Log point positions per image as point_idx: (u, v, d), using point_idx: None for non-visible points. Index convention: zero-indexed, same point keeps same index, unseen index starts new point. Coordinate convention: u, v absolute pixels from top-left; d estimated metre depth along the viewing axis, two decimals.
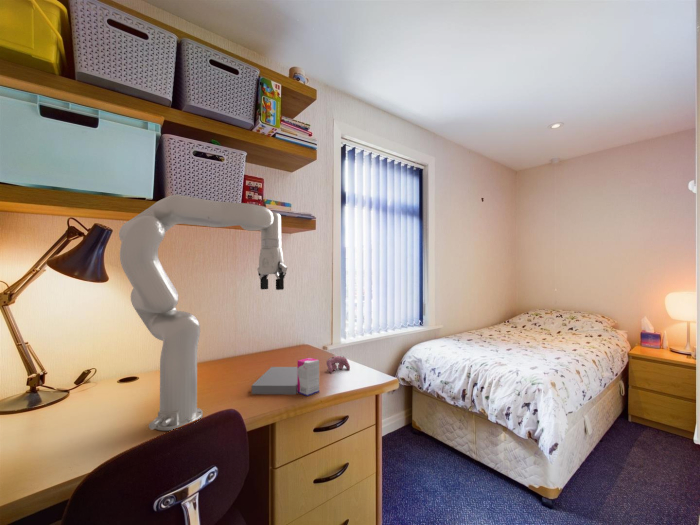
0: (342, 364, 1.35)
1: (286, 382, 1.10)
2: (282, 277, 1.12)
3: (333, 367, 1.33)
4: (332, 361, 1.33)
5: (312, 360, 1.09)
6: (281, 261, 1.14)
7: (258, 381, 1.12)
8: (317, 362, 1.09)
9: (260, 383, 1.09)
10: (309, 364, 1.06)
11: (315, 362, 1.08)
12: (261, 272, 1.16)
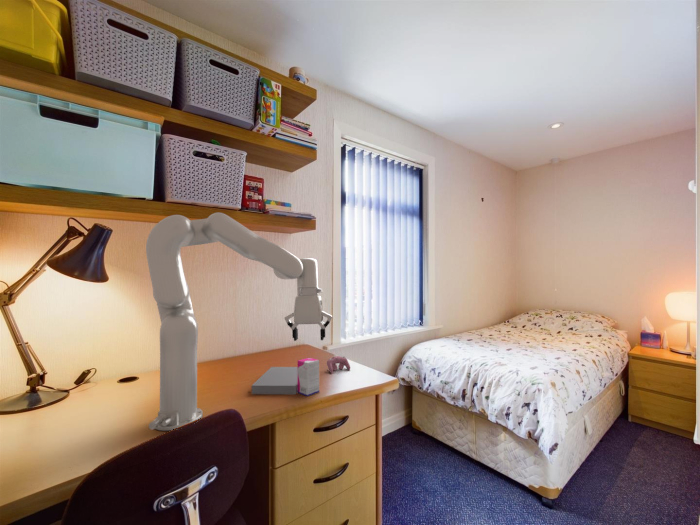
0: (342, 364, 1.35)
1: (286, 382, 1.10)
2: None
3: (333, 367, 1.33)
4: (332, 361, 1.32)
5: (312, 360, 1.09)
6: (294, 311, 1.09)
7: (258, 381, 1.12)
8: (317, 362, 1.09)
9: (260, 383, 1.09)
10: (309, 364, 1.06)
11: (315, 362, 1.08)
12: None
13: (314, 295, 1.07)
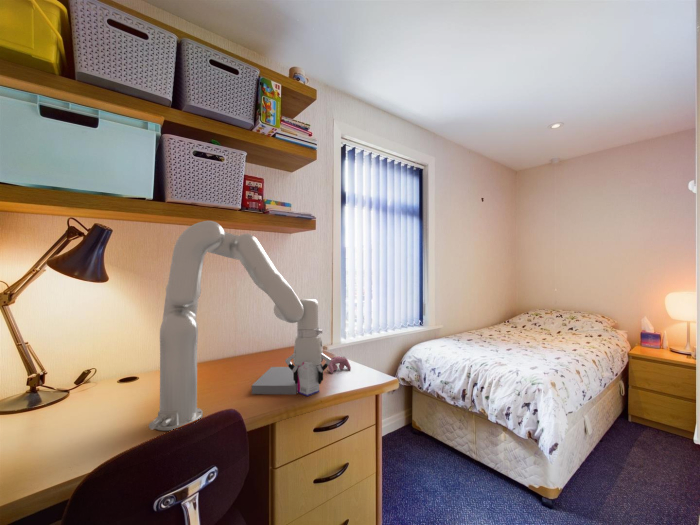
0: (343, 364, 1.35)
1: (286, 382, 1.10)
2: None
3: (334, 367, 1.32)
4: (333, 361, 1.32)
5: None
6: None
7: (258, 381, 1.12)
8: None
9: (260, 383, 1.09)
10: (309, 364, 1.06)
11: None
12: None
13: (314, 337, 1.07)
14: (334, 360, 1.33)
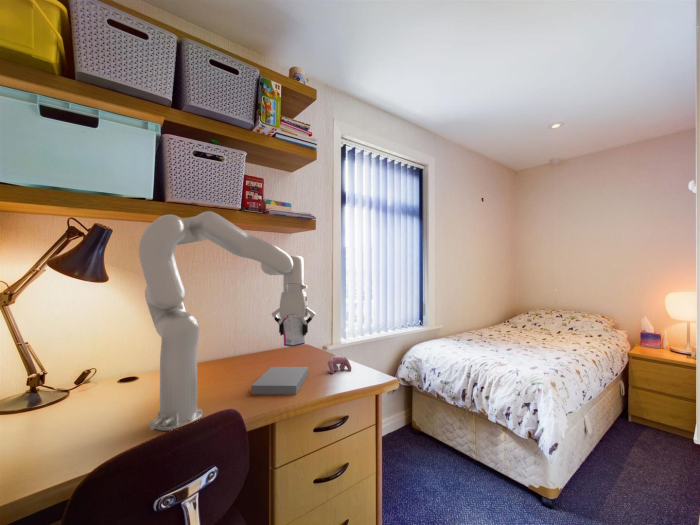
0: (343, 365, 1.34)
1: (286, 382, 1.10)
2: None
3: (334, 368, 1.32)
4: (333, 362, 1.32)
5: None
6: (280, 305, 1.14)
7: (258, 381, 1.12)
8: None
9: (260, 383, 1.09)
10: (293, 316, 1.11)
11: None
12: None
13: (299, 291, 1.12)
14: (335, 360, 1.32)
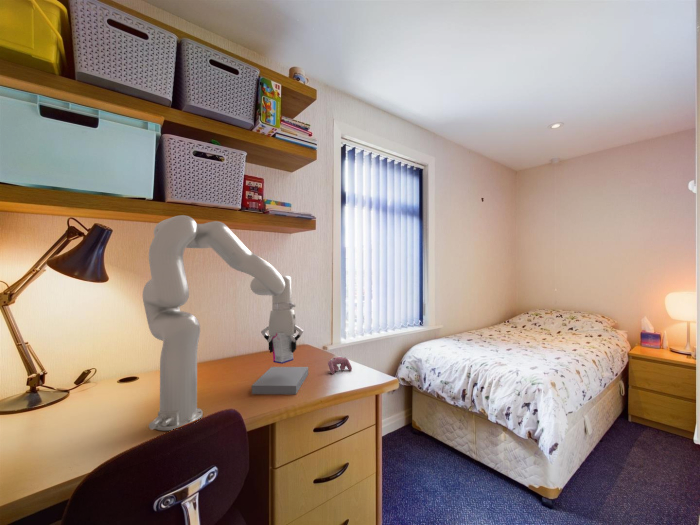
0: (344, 365, 1.34)
1: (286, 382, 1.10)
2: None
3: (335, 368, 1.32)
4: (334, 362, 1.31)
5: None
6: (269, 324, 1.19)
7: (258, 381, 1.12)
8: None
9: (260, 383, 1.09)
10: (282, 334, 1.16)
11: None
12: None
13: (287, 310, 1.17)
14: (335, 361, 1.32)
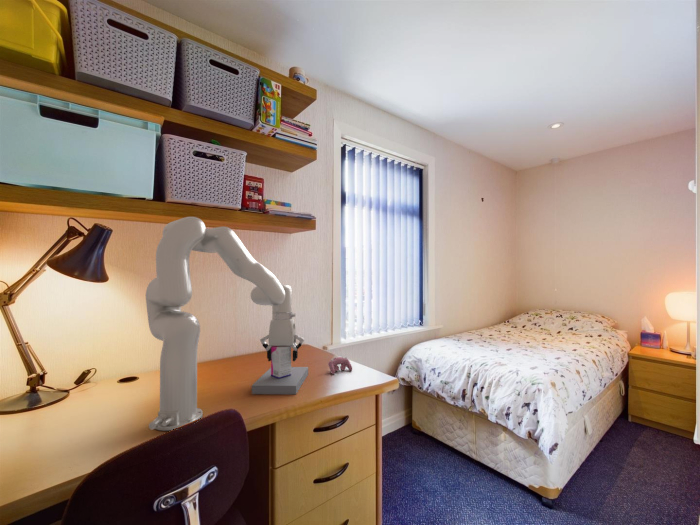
0: (344, 365, 1.33)
1: (286, 382, 1.10)
2: None
3: (335, 368, 1.31)
4: (334, 362, 1.31)
5: (284, 346, 1.18)
6: (269, 333, 1.18)
7: (258, 381, 1.12)
8: (289, 348, 1.18)
9: (260, 383, 1.09)
10: (281, 349, 1.15)
11: (287, 348, 1.17)
12: None
13: (287, 319, 1.17)
14: (335, 361, 1.31)
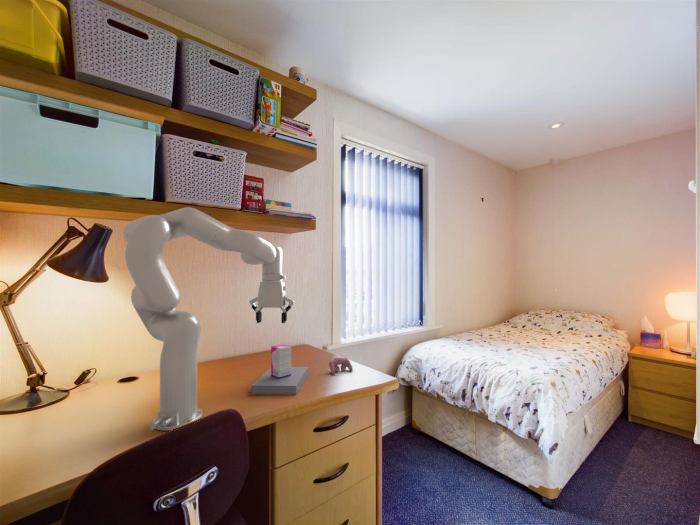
0: (345, 365, 1.33)
1: (286, 382, 1.10)
2: None
3: (335, 369, 1.31)
4: (334, 362, 1.30)
5: (284, 346, 1.18)
6: None
7: (258, 381, 1.12)
8: (289, 348, 1.18)
9: (260, 383, 1.09)
10: (281, 349, 1.15)
11: (287, 348, 1.17)
12: None
13: (277, 280, 1.15)
14: (336, 361, 1.31)
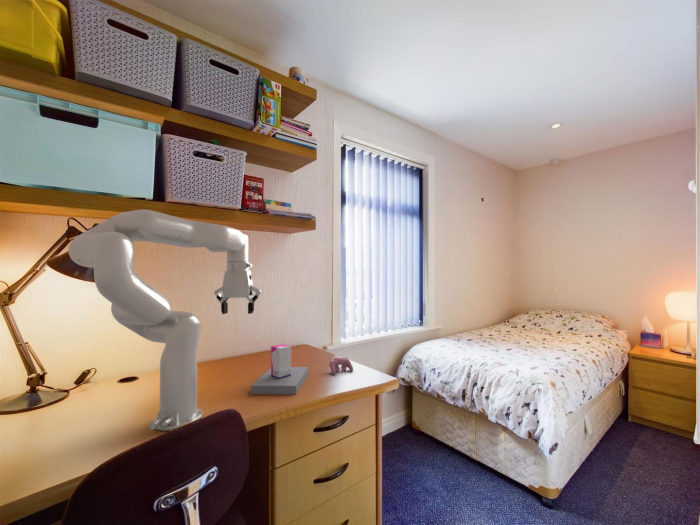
0: (345, 366, 1.33)
1: (286, 382, 1.10)
2: None
3: (336, 369, 1.30)
4: (335, 363, 1.30)
5: (284, 346, 1.18)
6: None
7: (258, 381, 1.12)
8: (289, 348, 1.18)
9: (260, 383, 1.09)
10: (281, 349, 1.15)
11: (287, 348, 1.17)
12: None
13: (242, 269, 1.09)
14: (336, 361, 1.31)
